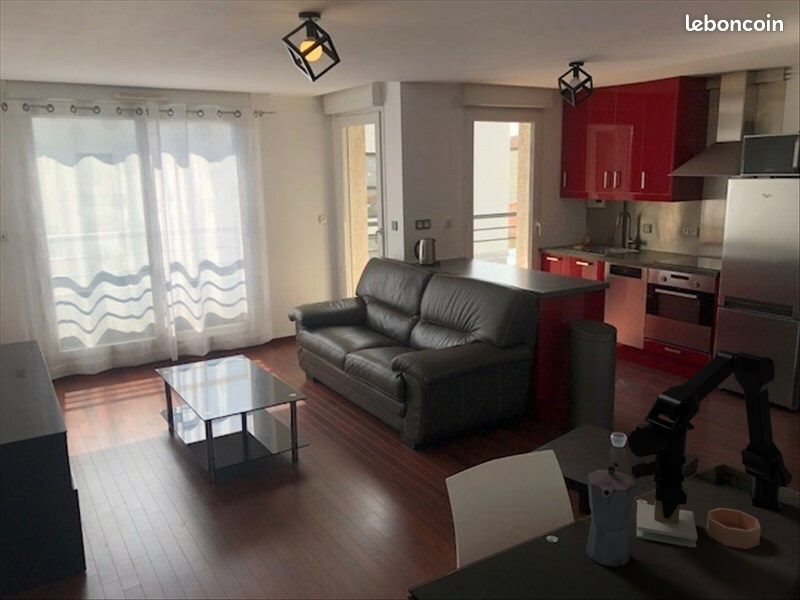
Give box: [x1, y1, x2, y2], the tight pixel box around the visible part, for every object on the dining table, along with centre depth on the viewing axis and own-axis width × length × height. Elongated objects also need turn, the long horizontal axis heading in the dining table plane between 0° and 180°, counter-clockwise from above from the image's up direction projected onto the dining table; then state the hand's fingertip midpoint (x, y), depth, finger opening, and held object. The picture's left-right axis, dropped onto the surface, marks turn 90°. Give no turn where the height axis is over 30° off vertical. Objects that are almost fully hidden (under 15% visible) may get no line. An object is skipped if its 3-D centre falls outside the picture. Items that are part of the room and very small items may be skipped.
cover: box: [636, 498, 698, 541], centre depth 142 cm, size 12×12×6 cm
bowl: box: [706, 507, 762, 550], centre depth 140 cm, size 10×10×4 cm
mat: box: [636, 529, 697, 549], centre depth 143 cm, size 12×12×1 cm
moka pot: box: [585, 462, 637, 567], centre depth 131 cm, size 10×15×20 cm, turn 158°
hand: (666, 514), depth 142 cm, fingers closed on cover, 3 cm apart
